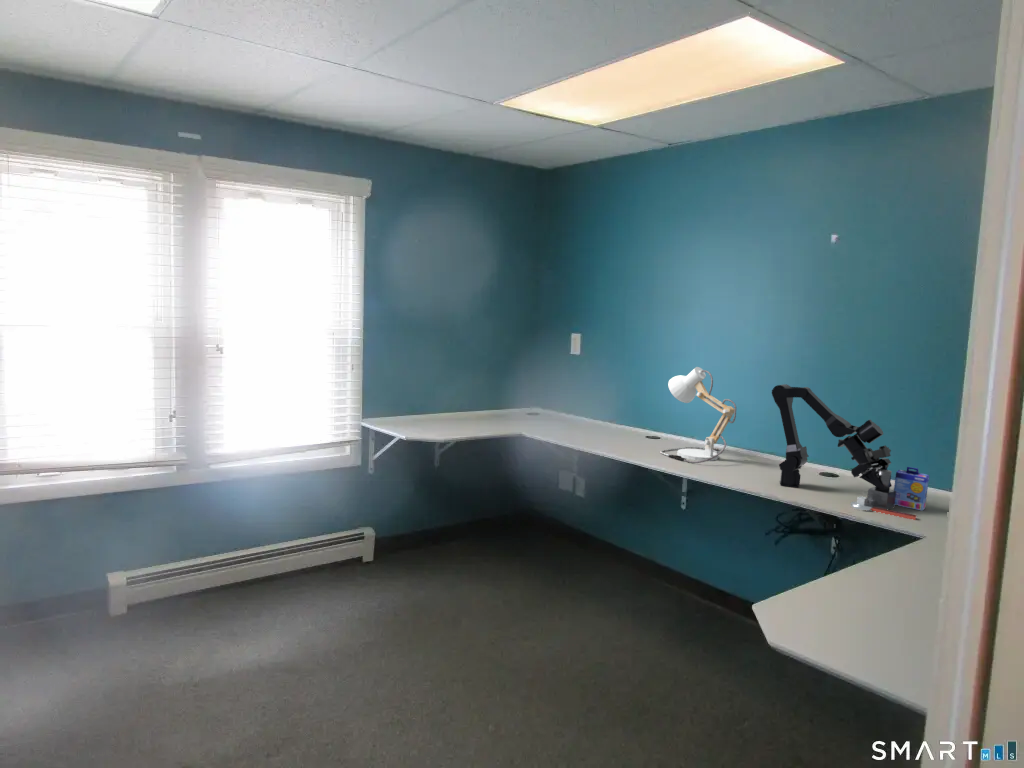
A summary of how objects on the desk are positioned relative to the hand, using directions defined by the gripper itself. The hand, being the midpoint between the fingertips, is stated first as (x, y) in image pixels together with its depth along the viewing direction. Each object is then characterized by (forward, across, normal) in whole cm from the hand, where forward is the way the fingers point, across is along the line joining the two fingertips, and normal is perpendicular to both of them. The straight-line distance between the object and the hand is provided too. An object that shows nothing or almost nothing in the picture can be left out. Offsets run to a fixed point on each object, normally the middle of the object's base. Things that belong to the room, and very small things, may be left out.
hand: (886, 487), depth 241 cm
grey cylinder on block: (+4, 0, +6) cm, 7 cm away
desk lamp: (-54, +5, +65) cm, 85 cm away
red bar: (+7, -8, +3) cm, 11 cm away
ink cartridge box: (+8, +10, +2) cm, 13 cm away
